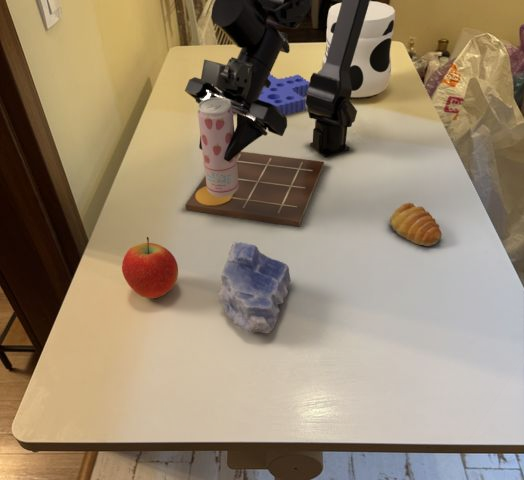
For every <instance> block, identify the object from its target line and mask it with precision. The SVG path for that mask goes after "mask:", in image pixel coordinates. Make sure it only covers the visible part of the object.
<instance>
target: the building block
mask: <svg viewBox="0 0 524 480" xmlns="http://www.w3.org/2000/svg"><path fill="white" fill-rule="evenodd" d="M268 80H269V81H270V82H271V84H270V86H269V88H266V87H263V90H262V92H261V94H260V96H259V98H258V100H261V101H264V102H267V103H270V104H272V105H274V106H275V107H276V108H277V109H278V110H279V111H280V112H281V113H282V114H283V115H284V116H286V115H291V114H295V113H299V112H301V111H302V112H304V111H306V109H307V105H306V96H307V95H306V92H307V90H308V87H309V84H310V80H307V79H306V78H304V77H303V76H301V75H300V74H294V75H293V76H292V75H290V76H289V77H288V76H285V77H284V78H282V77H281V78H277V77H276V76H274V75H273V74H271V73H270V74H269V77H268ZM220 92H221V93H222V91H220ZM231 104H232V103H231ZM239 107H240V106H239ZM241 108H242V107H241ZM237 113H238V112H235V111H233V114H237Z"/></svg>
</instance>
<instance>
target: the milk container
mask: <svg viewBox="0 0 524 480" xmlns="http://www.w3.org/2000/svg"><path fill="white" fill-rule="evenodd" d="M341 3H342V2H338V3H335V4H334V5H331V6H330V8H329V9H328V14H327V20H326V27H327V28H326V36H325V39H326V41H325V49H324V55H323V58H322V61H321V65H320V70H321V69H322V68H323V67H324V65H325V62H326V59H327V55H328V51H329V48H330V44H331V40H332V37H333V33H334V29H335V26H336V22H337V18H338V14H339V11H340V7H341ZM395 21H396V10H395V9H394V7H393V6H392V5H390V4H387V3H383V2H380V1H373V0H370V2H369V6H368V9H367V12H366V16H365V19H364V23H363V26H362V29H361V33H360V36H359V40H358V43H357V47H356V50H355V53H354V57H353V60H352V64H351V67H350V71H349V76H350V81H351V86H352V93H351V97H350V100H357V101H358V100H367V99H371V98H374V97H378V96H379V95H380V94H382V93H383V92H384V91H385V90H386V89H387V88H388V85H389V82H390V78H391V75H392V61H391V49H392V43H393V42H392V41H393V37H394V27H395Z"/></svg>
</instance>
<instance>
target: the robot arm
mask: <svg viewBox="0 0 524 480" xmlns="http://www.w3.org/2000/svg"><path fill="white" fill-rule="evenodd" d="M370 1H371V0H341V2H340V3H341V7H340V11H339V14H338V18H337V22H336V26H335V29H334V33H333V37H332V40H331V44H330V48H329V51H328V55H327V59H326V62H325V65H324V67H323V68H322V69H321V68H320V70H319V71H318V72H312V74H311V76H310V78H309V82H310V84H309V87H308V90H307V92H306V95H305V99H306V109H307V113H308V118H309V119H311V120H312V119H313V120H314V127H313V130H312V131H313V132H312V142H310V143H309V146H310V148H312V149H314V151H315V152H317V153H318V154H319V155H321V156H322V157H324V158H329V157H333V156H336V155H339V154H342V153H346V152H349V151H350V150H351V147H349V146H348V145H347V135H348V128H351V127H352V126H353V123H355V121H356V118H357V114H358V110H357V108H356V107H355V106H354V104H353V103H352V101H351V99H350V97H351V93H352V86H351V81H350V76H349V71H350V67H351V64H352V60H353V57H354V53H355V50H356V47H357V43H358V40H359V36H360V33H361V29H362V26H363V23H364V19H365V16H366V12H367V9H368V6H369V2H370ZM312 5H313V0H214V1H213V4H212V7H211V18H212V21H213V23H214V24H215V25H216V26H217V28H218V29H220V30H221V31H222V33H223V34H224V35H225V36H226V37H227V38H228V39H229V40H230V41H231V42H232V44H233V45H234V46H236V47H237V48H239V49H240V51H239V53H238V56H237V58H236V57H233V56H231V57H230V59H228V61H227V64H225V63H220V62H216V61H213V60H208V59H203V65H202V69H201V76H200V78H199V77H196V76H194V77H192V78H190V79H188V82H187V84H186V86H185V89H184V92H185V93H186V94H188V95H189V96H190V97H191V98H192V99H194V100H195V102H196V103H197V105H199V103H200V102H201V101H203V100H205V99H208V98H216V97H218V98H225V99H227V100H229V101H230V103H232V104H231V107H232V109H233V111H235V112H237V113H236V127H235V128H234V134H233V136H232V138H231V141H230V143H229V145H228V148H227V150H226V153H225V156H224V160H226V161H228V162H229V161H230V160H231V159H232V158H234V157H235V156H236V155H237V154H238V153H240V152H243V150H245V149H246V148H247V147H248V146H249V145H251V144H252V143H253V142H255V141H256V140H258V139H260V138H261V137H263V136H265V137H266V136H268V133H272V134H274V135H277V136H280V137H283V136H284V134H285V131H286V130H287V127H288V119H287V118H288V117H287V116H286V115H283V114H282V113H281V112H280V111H279V110H278V109H277V108H276V107H275V106H274V105H272V104H270V103H267V102H264V101H261V100H258V98H259V96H260V94H261V92H262V90H263V87H266V88H269V86H270V84H271V82H270V81H269V80H268V77H269V74H271V72H272V70H273V67H274V66H275V63H276V61H277V59H278V57H279V55H280V52H282V53H286V54H289V53H290V51H291V49H290V48H291V47H290V44H289V41H288V40H289V39H288V34H287V33H285V32H281V31H279V29H278V28H277V27H276V26H275V25H277V26H281V27H284V28H289V29H297V28H298V27H299V26H300V25H301V23H302V22H303V21H304V19H305V18H306V16H307V14H308V13H309V11H310V10H311V8H312V7H313V6H312ZM221 92H222V93H221ZM239 106H240V107H239ZM241 107H242V108H241ZM267 131H268V132H267ZM198 148H199V150H201V151H202V144H201V135H200V134H199V146H198Z"/></svg>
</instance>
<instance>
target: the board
mask: <svg viewBox="0 0 524 480" xmlns="http://www.w3.org/2000/svg"><path fill="white" fill-rule="evenodd" d="M236 158H237V171H238V184H239V187H238V190H237V191H236V192H235V193H234V194H232V195H230V196H226V197H217V196H214V195H212V194H211V193H209V192H208V190H207V184H206V176H205V175H204V176H203V178H202V180H201V181H200V183H199V184H198V185H197V187H196V188H195V190H194V191H193V193H192V194H191V196H190V197H189V199H188V200H187V201H186V203H185V204H184V205H185V210H186V211H192V212H198V213H204V214H210V215H211V214H212V215H217V216H224V217H230V218H236V219H237V218H238V219H243V220H244V219H245V220H250V221H258V222H265V223H271V224H277V225H283V226H290V227H298V228H299V227H300V225H301V223H302V221H303V218H304V216H305V214H306V211H307V208H308V206H309V204H310V202H311V199H312V197H313V194H314V192H315V189H316V187H317V184H318V183H319V180H320V177H321V175H322V172H323V170H324V168H325V161H321V160H313V159H305V158H297V157H289V156H281V155H273V154H265V153H257V152H256V153H255V152H249V151H241V152H240V153H238V154H237V155H236Z"/></svg>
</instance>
